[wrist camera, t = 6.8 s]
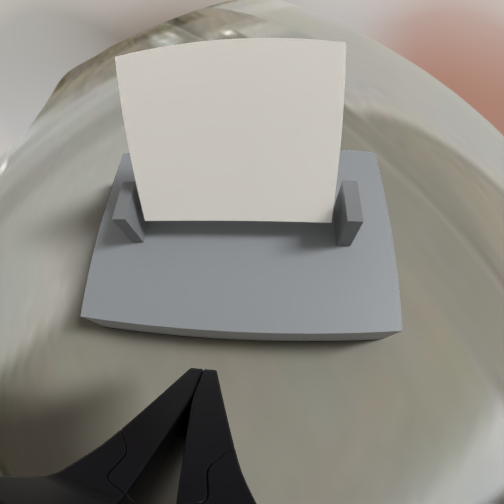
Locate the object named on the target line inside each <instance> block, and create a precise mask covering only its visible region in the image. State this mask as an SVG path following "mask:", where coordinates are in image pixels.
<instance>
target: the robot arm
mask: <svg viewBox="0 0 504 504" xmlns="http://www.w3.org/2000/svg"><path fill="white" fill-rule="evenodd" d="M0 504H256V502H255V500H254V498H253V496H252V494H251V492H250V490H249V488H248V486H247V483H246V481H245V479H244V476H243V474H242V471H241V468H240V465H239V462H238V459H237V455H236V451H235V448H234V444H233V440H232V436H231V432H230V428H229V423H228V419H227V415H226V411H225V406H224V402H223V398H222V393H221V389H220V384H219V380H218V375H217V371H216V370H207V369H205V370H204V371H203V370H202V369H196V368H191V369H189V370H188V371H187V372H186V373H185V374H184V375H182V376H181V377H180V378H179V379H178V380H177V381H176V382H175V383H174V384H172V385H171V386H170V387H169V388H168V389H167V390H166V391H165V392H164V393H162V394H161V395H160V396H159V397H158V398H157V399H156V400H155V401H153V402H152V403H151V404H150V405H149V406H148V407H147V408H145V409H144V410H143V411H142V412H141V413H140V414H138V415H137V416H136V417H135V418H134V419H133V420H132V421H130V422H129V423H128V424H127V425H126V426H125V427H123V428H122V430H120V431H118V432H117V433H116V434H115V435H114V436H113V437H111V438H110V439H109V440H107V441H106V442H105V443H104V444H102V445H101V446H99V447H98V448H97V449H95V450H94V451H92V452H91V453H89V454H88V455H86V456H84V457H83V458H81V459H80V460H78V461H76V462H75V463H73V464H71V465H70V466H68V467H66V468H65V469H63V470H61V471H59V472H57V473H55V474H52V475H48V476H39V477H2V476H0Z"/></svg>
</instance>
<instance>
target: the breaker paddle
mask: <svg viewBox="0 0 504 504" xmlns="http://www.w3.org/2000/svg"><path fill="white" fill-rule="evenodd" d="M115 61H116V70H117V78H118V86H119V93H120V100H121V106H122V113H123V119H124V125H125V131H126V136H127V142H128V147H129V152H130V157H131V162H132V167H133V172H134V177H135V181H136V186H137V190H138V194H139V199H140V203H141V207H142V211H143V215H144V219H145V221H282V222H321V223H331V222H332V215H333V208H334V200H335V192H336V183H337V175H338V165H339V155H340V145H341V133H342V121H343V107H344V90H345V69H346V43H344V42H335V41H325V40H312V39H293V38H244V39H225V40H212V41H202V42H193V43H185V44H178V45H171V46H165V47H159V48H154V49H148V50H143V51H138V52H134V53H129V54H125V55H121V56H117V57H115Z"/></svg>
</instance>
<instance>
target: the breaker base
mask: <svg viewBox="0 0 504 504" xmlns="http://www.w3.org/2000/svg"><path fill="white" fill-rule="evenodd" d="M81 317H83V318H85V319H88V320H90V321H93V322H95V323H98V324H100V325H102V326H105V327H111V328H118V329H126V330H133V331H142V332H151V333H160V334H170V335H181V336H192V337H206V338H221V339H240V340H266V341H348V340H374V339H383V338H386V337H388V336H391V335H393V334H396V333H398V332H400V331H402V317H401V304H400V293H399V283H398V274H397V266H396V258H395V251H394V244H393V238H392V232H391V226H390V220H389V215H388V209H387V204H386V199H385V194H384V189H383V185H382V180H381V176H380V172H379V167H378V163H377V159H376V155H375V152H366V151H355V150H342V149H340V155H339V165H338V175H337V183H336V192H335V200H334V208H333V215H332V222H331V223H321V222H282V221H145V219H144V215H143V211H142V207H141V203H140V199H139V194H138V190H137V186H136V181H135V177H134V172H133V167H132V162H131V157H130V153H128V154H123V156H122V159H121V162H120V165H119V167H118V170H117V173H116V176H115V179H114V182H113V185H112V188H111V191H110V194H109V197H108V201H107V204H106V207H105V210H104V214H103V217H102V221H101V224H100V228H99V232H98V235H97V239H96V243H95V247H94V251H93V255H92V260H91V264H90V269H89V273H88V278H87V283H86V288H85V293H84V298H83V304H82V310H81Z"/></svg>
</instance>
